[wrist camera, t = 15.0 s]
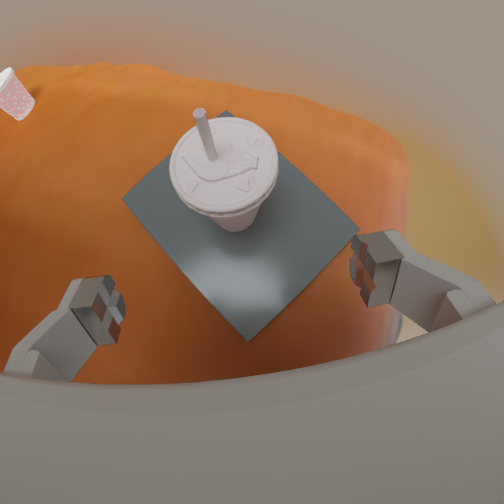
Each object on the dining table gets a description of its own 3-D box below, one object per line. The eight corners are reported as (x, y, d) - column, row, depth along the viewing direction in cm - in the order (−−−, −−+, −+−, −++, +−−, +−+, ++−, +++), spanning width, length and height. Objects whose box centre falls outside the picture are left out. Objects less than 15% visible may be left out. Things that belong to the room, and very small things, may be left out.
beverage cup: (9, 120, 30) (-34, 81, 17) (30, 93, 31) (-10, 50, 18) (20, 127, 30) (-28, 84, 16) (43, 97, 31) (0, 49, 17)
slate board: (127, 203, 27) (121, 198, 25) (227, 118, 28) (226, 110, 27) (248, 339, 24) (248, 342, 23) (354, 233, 26) (359, 229, 24)
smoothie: (206, 175, 25) (165, 67, 12) (275, 183, 25) (291, 71, 11) (193, 242, 24) (123, 174, 11) (266, 252, 24) (279, 187, 10)
